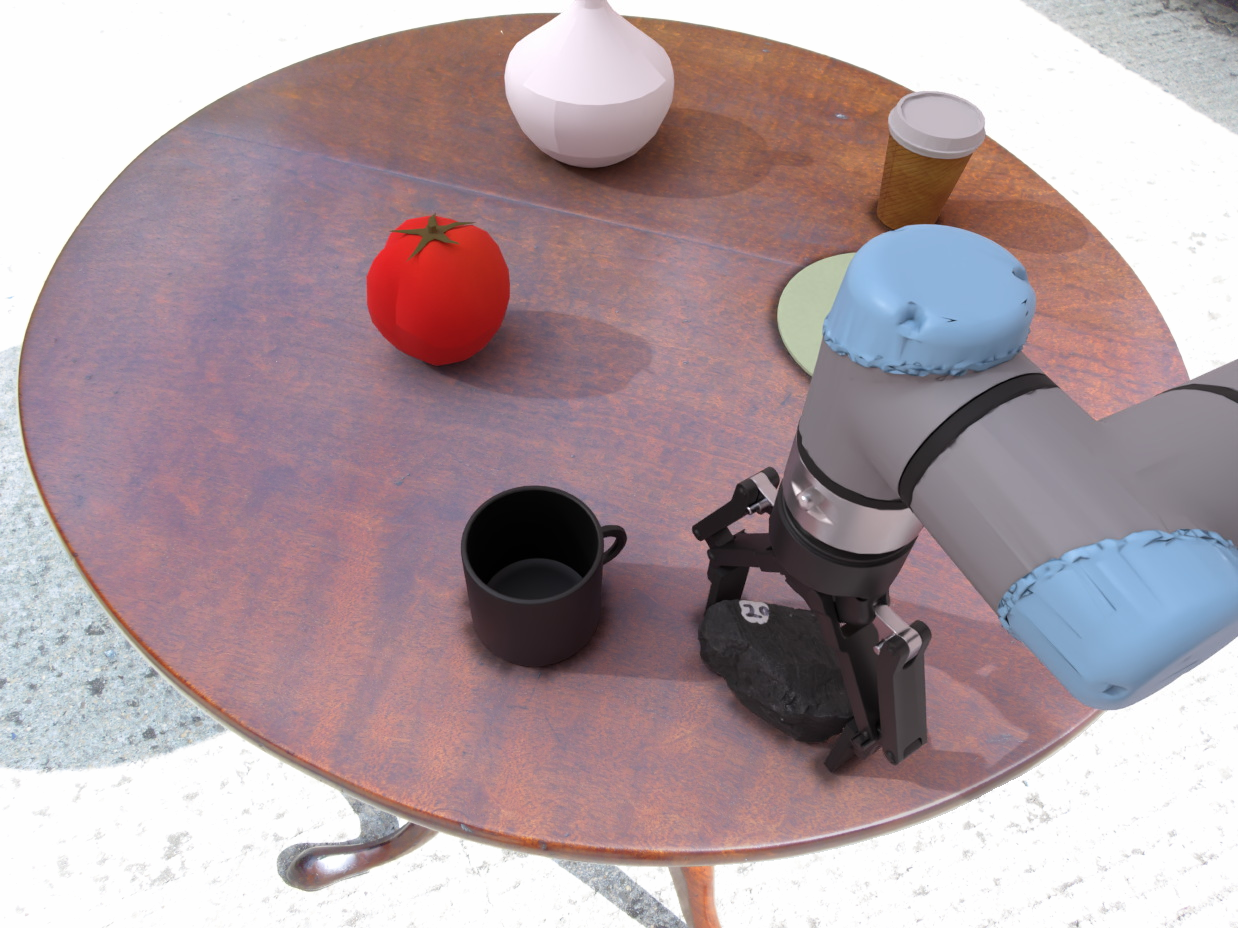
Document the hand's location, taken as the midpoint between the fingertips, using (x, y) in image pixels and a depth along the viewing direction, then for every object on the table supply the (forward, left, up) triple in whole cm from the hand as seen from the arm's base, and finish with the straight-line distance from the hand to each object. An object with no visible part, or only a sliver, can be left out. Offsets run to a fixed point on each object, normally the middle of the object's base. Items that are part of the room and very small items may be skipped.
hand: (778, 680), depth 64 cm
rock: (0, 0, 0) cm, 0 cm away
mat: (+22, -33, 0) cm, 40 cm away
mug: (+14, +10, 0) cm, 17 cm away
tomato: (+42, +4, 0) cm, 42 cm away
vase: (+63, -25, 0) cm, 68 cm away
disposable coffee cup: (+34, -47, 0) cm, 58 cm away
